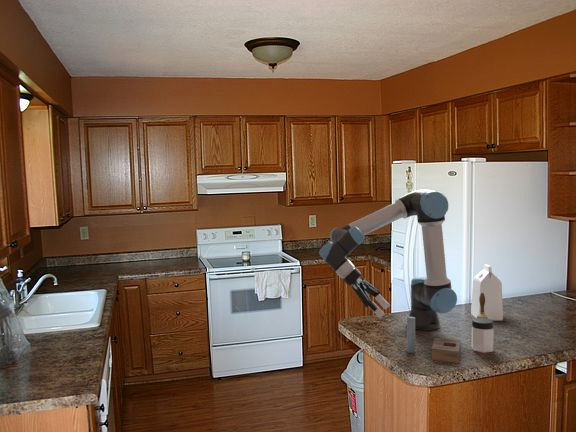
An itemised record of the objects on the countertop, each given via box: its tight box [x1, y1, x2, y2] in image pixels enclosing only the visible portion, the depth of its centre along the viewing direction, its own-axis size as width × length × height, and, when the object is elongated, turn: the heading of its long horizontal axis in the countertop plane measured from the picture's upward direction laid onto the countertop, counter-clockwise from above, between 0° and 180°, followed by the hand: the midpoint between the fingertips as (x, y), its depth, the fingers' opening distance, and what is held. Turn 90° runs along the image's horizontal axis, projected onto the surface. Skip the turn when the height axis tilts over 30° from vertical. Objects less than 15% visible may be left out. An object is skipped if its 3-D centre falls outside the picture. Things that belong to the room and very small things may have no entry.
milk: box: [470, 263, 504, 321], centre depth 259 cm, size 12×12×26 cm
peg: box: [406, 316, 416, 354], centre depth 211 cm, size 3×3×14 cm
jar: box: [470, 317, 494, 353], centre depth 213 cm, size 9×8×12 cm
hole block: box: [431, 337, 461, 364], centre depth 206 cm, size 14×10×4 cm
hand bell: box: [477, 293, 488, 319], centre depth 243 cm, size 8×8×16 cm
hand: (385, 311), depth 214 cm, fingers open, 13 cm apart
